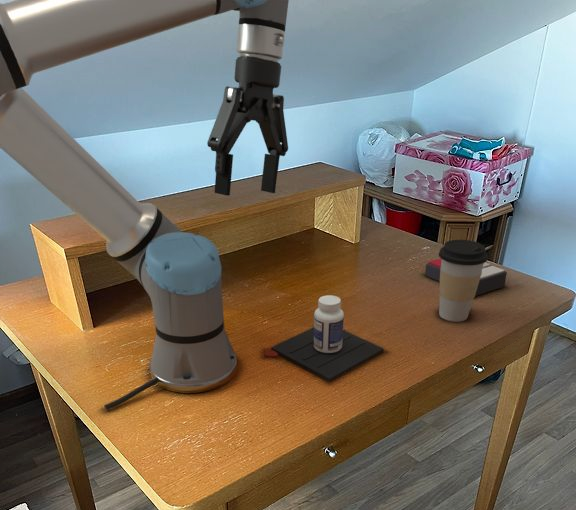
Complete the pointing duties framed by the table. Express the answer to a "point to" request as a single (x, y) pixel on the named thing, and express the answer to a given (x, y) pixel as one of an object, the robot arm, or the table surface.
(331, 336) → the pill bottle
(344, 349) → the plate
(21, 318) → the table surface
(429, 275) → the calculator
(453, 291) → the coffee cup
